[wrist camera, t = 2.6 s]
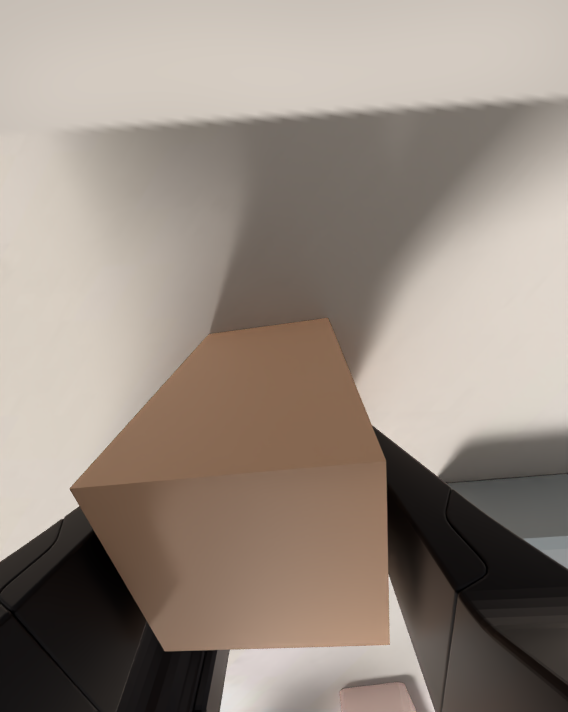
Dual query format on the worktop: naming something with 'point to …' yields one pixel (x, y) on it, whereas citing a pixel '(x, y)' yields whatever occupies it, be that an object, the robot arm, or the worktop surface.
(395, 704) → the soap bar
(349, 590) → the carton
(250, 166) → the worktop surface
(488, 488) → the tray
